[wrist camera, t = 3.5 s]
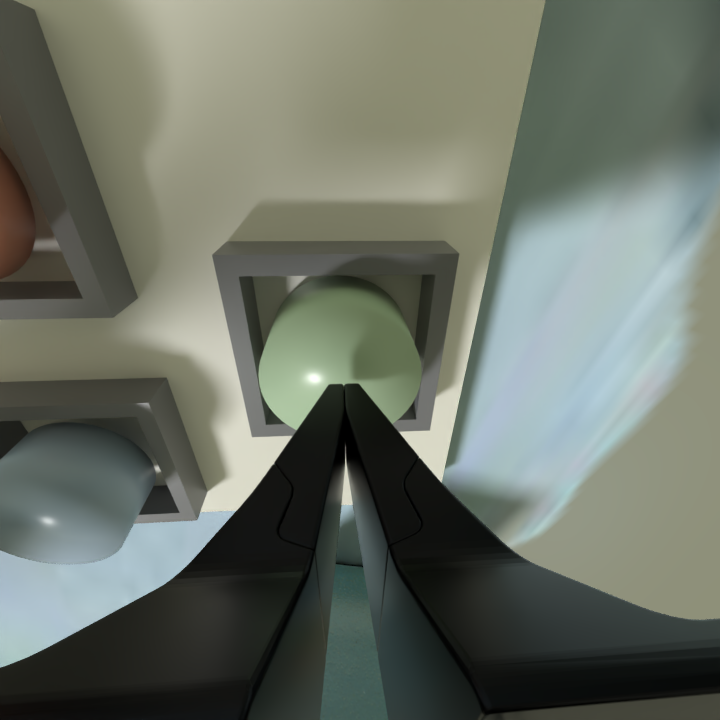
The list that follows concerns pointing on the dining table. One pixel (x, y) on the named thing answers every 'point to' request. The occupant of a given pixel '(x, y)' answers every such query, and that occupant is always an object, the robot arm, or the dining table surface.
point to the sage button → (338, 349)
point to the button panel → (244, 209)
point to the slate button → (71, 493)
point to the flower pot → (351, 653)
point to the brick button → (14, 220)
